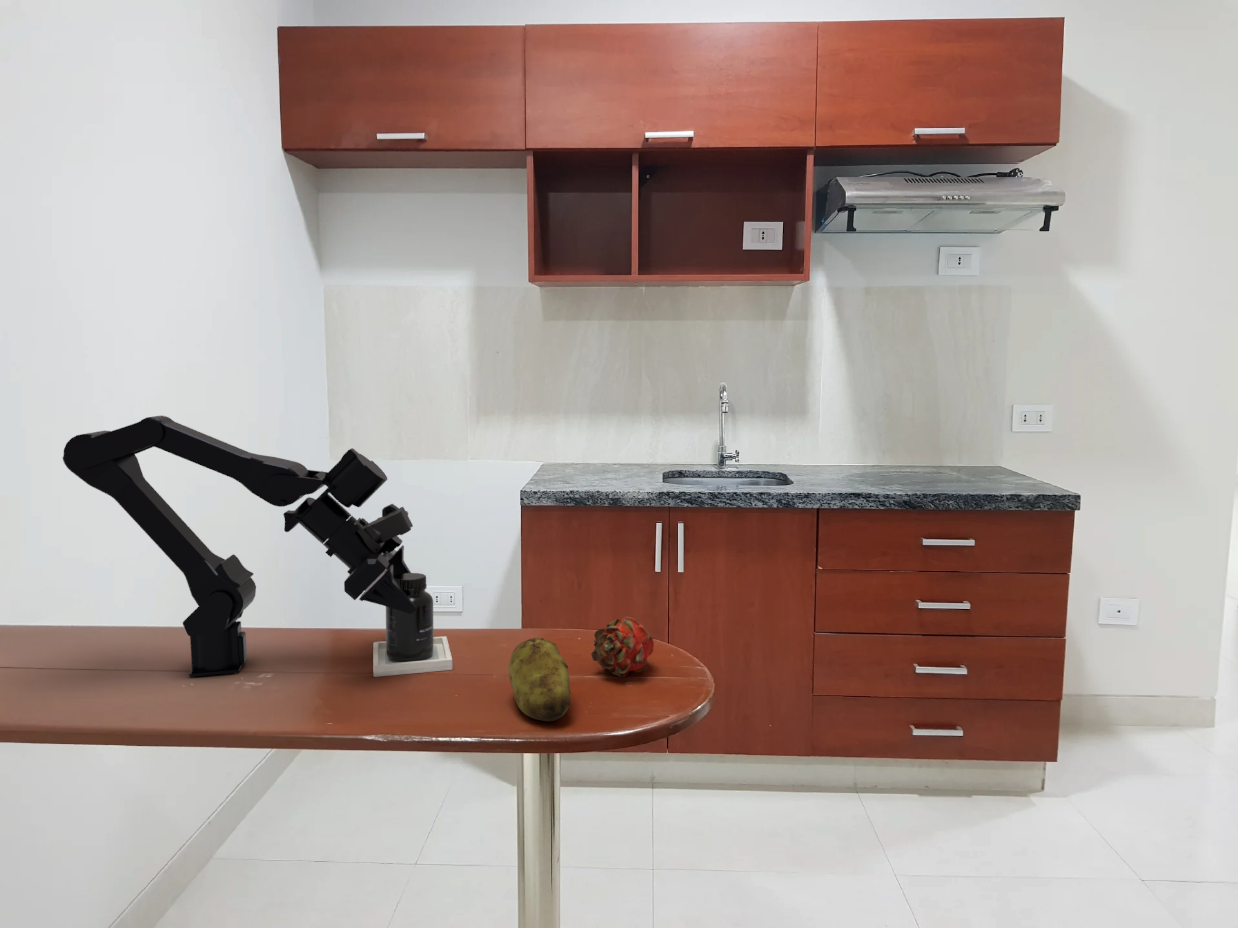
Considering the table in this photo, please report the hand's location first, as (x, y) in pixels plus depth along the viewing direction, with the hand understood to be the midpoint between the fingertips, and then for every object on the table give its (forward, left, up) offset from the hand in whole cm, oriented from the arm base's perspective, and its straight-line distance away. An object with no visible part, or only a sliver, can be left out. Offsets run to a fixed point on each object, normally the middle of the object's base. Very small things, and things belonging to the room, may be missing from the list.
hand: (417, 602), depth 125 cm
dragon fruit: (+28, -12, -9) cm, 32 cm away
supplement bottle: (-1, 0, -8) cm, 8 cm away
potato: (+14, -22, -9) cm, 28 cm away
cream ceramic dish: (-1, 0, -9) cm, 9 cm away
